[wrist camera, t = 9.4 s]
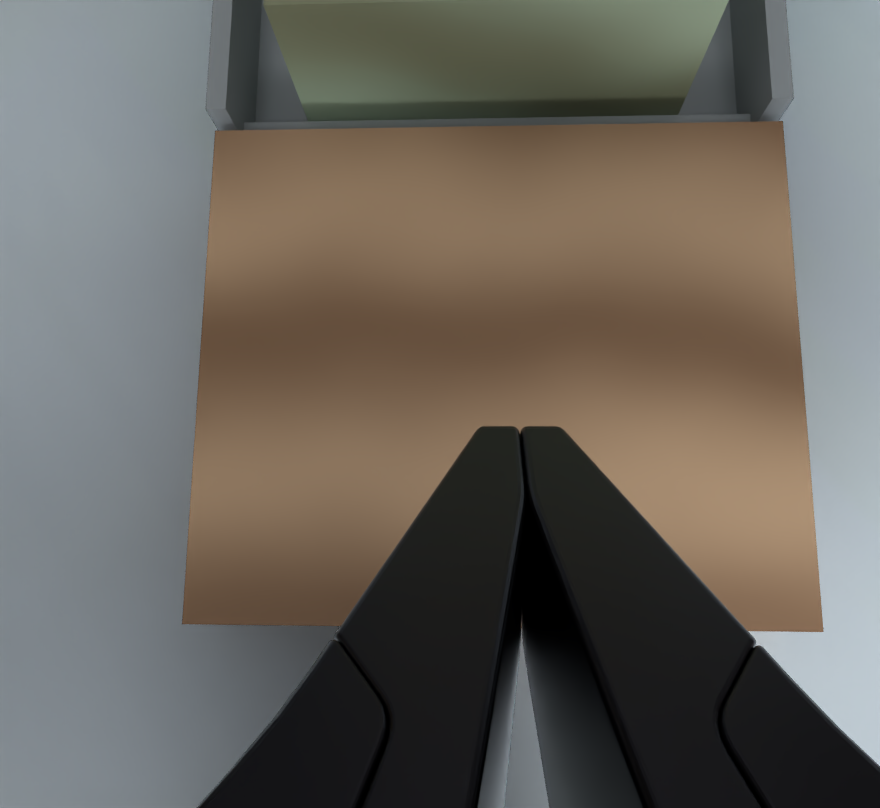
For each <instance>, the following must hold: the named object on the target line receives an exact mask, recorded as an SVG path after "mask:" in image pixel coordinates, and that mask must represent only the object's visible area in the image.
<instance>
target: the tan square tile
mask: <svg viewBox="0 0 880 808" xmlns="http://www.w3.org/2000/svg"><path fill="white" fill-rule="evenodd" d="M481 426H514V427H516V428H517V429H518V430H519V432H520V431H521V430H522V428H524V427H526V426H559V427H561V428H562V429H564V430H565V431H566V432H567V434H568V435H569V436H570V437H571V438H572V439H573V440H574V441H575V442H576V443H577V445H578V446H579V447H580V448H581V449H582V450H583V451H584V452H585V453H586V454H587V455H588V457H589V458H590V459H591V460H592V461H593V462H594V463H595V464H596V465H597V466H598V468H599V469H600V470H601V471H602V472H603V473H604V474H605V475H606V476H607V477H608V478H609V480H610V481H611V482H612V483H613V484H614V485H615V486H616V487H617V488H618V489H619V491H620V492H621V493H622V494H623V495H624V496H625V497H626V498H627V499H628V500H629V502H630V503H631V504H632V505H633V506H634V507H635V508H636V509H637V510H638V511H639V512H640V514H641V515H642V516H643V517H644V518H645V519H646V520H647V521H648V522H649V523H650V525H651V526H652V527H653V528H654V529H655V530H656V531H657V532H658V533H659V534H660V535H661V537H662V538H663V539H664V540H665V541H666V542H667V543H668V544H669V545H670V546H671V548H672V549H673V550H674V551H675V552H676V553H677V554H678V555H679V556H680V557H681V559H682V560H683V561H684V562H685V563H686V564H687V565H688V566H689V567H690V568H691V569H692V571H693V572H694V573H695V574H696V575H697V576H698V577H699V578H700V579H701V580H702V582H703V583H704V584H705V585H706V586H707V587H708V588H709V589H710V590H711V591H712V592H713V594H714V595H715V596H716V597H717V598H718V599H719V600H720V601H721V602H722V603H723V605H724V606H725V607H726V608H727V609H728V610H729V611H730V612H731V613H732V614H733V616H734V617H735V618H736V619H737V620H738V621H739V622H740V623H741V624H742V625H743V626H744V628H745V629H746V630H747V631H790V632H823V622H822V609H821V596H820V584H819V571H818V559H817V546H816V533H815V521H814V508H813V496H812V483H811V470H810V458H809V445H808V433H807V420H806V408H805V395H804V382H803V370H802V357H801V345H800V332H799V319H798V307H797V294H796V282H795V269H794V256H793V244H792V231H791V219H790V206H789V194H788V181H787V168H786V156H785V143H784V131H783V121H761V122H702V123H643V124H584V125H525V126H466V127H406V128H347V129H288V130H229V131H215V141H214V156H213V171H212V186H211V201H210V216H209V231H208V246H207V261H206V276H205V291H204V305H203V320H202V335H201V350H200V365H199V380H198V395H197V410H196V425H195V440H194V455H193V470H192V485H191V499H190V514H189V529H188V544H187V559H186V574H185V589H184V604H183V619H182V624H216V625H298V626H341V625H342V623H343V622H344V621H345V619H346V618H347V616H348V615H349V613H350V612H351V610H352V609H353V608H354V606H355V605H356V603H357V602H358V600H359V599H360V597H361V596H362V595H363V593H364V592H365V590H366V589H367V587H368V586H369V584H370V583H371V582H372V580H373V579H374V577H375V576H376V574H377V573H378V571H379V570H380V569H381V567H382V566H383V564H384V563H385V561H386V560H387V558H388V557H389V556H390V554H391V553H392V551H393V550H394V548H395V547H396V545H397V544H398V543H399V541H400V540H401V538H402V537H403V535H404V534H405V532H406V531H407V530H408V528H409V527H410V525H411V524H412V522H413V521H414V519H415V518H416V517H417V515H418V514H419V512H420V511H421V509H422V508H423V507H424V505H425V504H426V502H427V501H428V499H429V498H430V496H431V495H432V494H433V492H434V491H435V489H436V488H437V486H438V485H439V483H440V482H441V481H442V479H443V478H444V476H445V475H446V473H447V472H448V470H449V469H450V468H451V466H452V465H453V463H454V462H455V460H456V459H457V457H458V456H459V455H460V453H461V452H462V450H463V449H464V447H465V446H466V444H467V443H468V442H469V440H470V439H471V437H472V436H473V434H474V433H475V432H476V430H477V429H478V428H480V427H481ZM521 628H522V623H521Z"/></svg>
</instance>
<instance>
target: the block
mask: <svg viewBox="0 0 880 808" xmlns="http://www.w3.org/2000/svg"><path fill="white" fill-rule="evenodd" d="M728 1H729V0H264V4H263V5H264V8H265V11H266V13H267V16H268V18H269V21H270V24H271V26H272V29H273V31H274V34H275V37H276V39H277V42H278V44H279V47H280V50H281V52H282V55H283V57H284V60H285V63H286V65H287V68H288V70H289V73H290V76H291V78H292V81H293V83H294V86H295V88H296V91H297V94H298V96H299V99H300V101H301V104H302V107H303V109H304V112H305V114H306V117H307V120H308V121H358V120H416V119H473V118H531V117H588V116H646V115H678V114H679V112H680V109H681V107H682V105H683V103H684V100H685V98H686V96H687V94H688V91H689V89H690V87H691V85H692V82H693V80H694V78H695V76H696V73H697V71H698V69H699V67H700V64H701V62H702V60H703V58H704V55H705V53H706V51H707V49H708V46H709V44H710V42H711V40H712V37H713V35H714V33H715V30H716V28H717V26H718V24H719V21H720V19H721V17H722V15H723V12H724V10H725V8H726V6H727V3H728Z"/></svg>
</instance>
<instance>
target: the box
mask: <svg viewBox="0 0 880 808" xmlns="http://www.w3.org/2000/svg"><path fill="white" fill-rule="evenodd" d="M263 4H264V0H213V9H212V23H211V38H210V52H209V66H208V81H207V95H206V111H207V112H208V114H209V116H210V117H211V119H212V121H213V122H214V124H215V126H216V127H217V129H218V131H229V130H288V129H347V128H406V127H466V126H525V125H584V124H643V123H702V122H761V121H779V119H780V118H781V117H782V115H783V114H784V112H785V111H786V109H787V108H788V106H789V105H790V103H791V102H792V100H793V99H794V95H793V83H792V71H791V58H790V46H789V34H788V22H787V10H786V0H729V1H728V3H727V6H726V8H725V10H724V12H723V15H722V17H721V19H720V21H719V24H718V26H717V28H716V30H715V33H714V35H713V37H712V40H711V42H710V44H709V46H708V49H707V51H706V53H705V55H704V58H703V60H702V62H701V64H700V67H699V69H698V71H697V73H696V76H695V78H694V80H693V82H692V85H691V87H690V89H689V91H688V94H687V96H686V98H685V100H684V103H683V105H682V107H681V109H680V112H679V114H678V115H646V116H588V117H531V118H473V119H416V120H358V121H308V120H307V117H306V114H305V112H304V109H303V107H302V104H301V101H300V99H299V96H298V94H297V91H296V88H295V86H294V83H293V81H292V78H291V76H290V73H289V70H288V68H287V65H286V63H285V60H284V57H283V55H282V52H281V50H280V47H279V44H278V42H277V39H276V37H275V34H274V31H273V29H272V26H271V24H270V21H269V18H268V16H267V13H266V11H265V8H264V5H263Z"/></svg>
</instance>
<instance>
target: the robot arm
mask: <svg viewBox="0 0 880 808" xmlns="http://www.w3.org/2000/svg"><path fill="white" fill-rule="evenodd" d="M521 623H522V638H523V646H524V654H525V661H526V668H527V674H528V680H529V686H530V692H531V698H532V704H533V710H534V717H535V723H536V729H537V735H538V741H539V747H540V753H541V759H542V765H543V772H544V778H545V784H546V790H547V796H548V802H549V808H880V766H879V765H878V764H877V763H876V762H875V761H874V760H873V759H872V758H871V757H869V756H868V755H867V754H866V753H865V752H864V751H863V750H862V749H861V748H860V747H859V746H858V745H857V744H856V743H855V742H854V741H853V740H851V739H850V738H849V737H848V736H847V735H846V734H845V733H844V732H843V731H842V730H841V729H840V728H839V727H838V726H837V725H836V724H835V723H834V722H833V721H832V720H831V719H830V718H829V717H828V716H827V715H826V714H825V713H824V712H823V711H822V710H821V709H820V708H819V707H818V705H817V704H816V703H815V702H814V701H813V700H812V699H811V698H810V697H809V696H808V695H807V694H806V693H805V692H804V691H803V690H802V689H801V688H800V687H799V686H798V685H797V684H796V683H795V682H794V681H793V680H792V678H791V677H790V676H789V675H788V674H787V673H786V672H785V671H784V670H783V669H782V668H781V666H780V665H779V664H778V663H777V662H776V661H775V660H774V659H773V658H772V657H771V656H770V654H769V653H768V652H767V651H766V650H765V649H764V648H763V647H762V646H756V641H755V639H754V637H753V636H752V635H751V634H750V633H749V632H748V631H747V630H746V629H745V628H744V626H743V625H742V624H741V623H740V622H739V621H738V620H737V619H736V618H735V617H734V616H733V614H732V613H731V612H730V611H729V610H728V609H727V608H726V607H725V606H724V605H723V603H722V602H721V601H720V600H719V599H718V598H717V597H716V596H715V595H714V594H713V592H712V591H711V590H710V589H709V588H708V587H707V586H706V585H705V584H704V583H703V582H702V580H701V579H700V578H699V577H698V576H697V575H696V574H695V573H694V572H693V571H692V569H691V568H690V567H689V566H688V565H687V564H686V563H685V562H684V561H683V560H682V559H681V557H680V556H679V555H678V554H677V553H676V552H675V551H674V550H673V549H672V548H671V546H670V545H669V544H668V543H667V542H666V541H665V540H664V539H663V538H662V537H661V535H660V534H659V533H658V532H657V531H656V530H655V529H654V528H653V527H652V526H651V525H650V523H649V522H648V521H647V520H646V519H645V518H644V517H643V516H642V515H641V514H640V512H639V511H638V510H637V509H636V508H635V507H634V506H633V505H632V504H631V503H630V502H629V500H628V499H627V498H626V497H625V496H624V495H623V494H622V493H621V492H620V491H619V489H618V488H617V487H616V486H615V485H614V484H613V483H612V482H611V481H610V480H609V478H608V477H607V476H606V475H605V474H604V473H603V472H602V471H601V470H600V469H599V468H598V466H597V465H596V464H595V463H594V462H593V461H592V460H591V459H590V458H589V457H588V455H587V454H586V453H585V452H584V451H583V450H582V449H581V448H580V447H579V446H578V445H577V443H576V442H575V441H574V440H573V439H572V438H571V437H570V436H569V435H568V434H567V432H566V431H565V430H564V429H562V428H561V427H559V426H526V427H524V428H522V430H521V431H520V432H519V430H518V429H517V428H516V427H514V426H481V427H480V428H478V429H477V430H476V432H475V433H474V434H473V436H472V437H471V439H470V440H469V442H468V443H467V444H466V446H465V447H464V449H463V450H462V452H461V453H460V455H459V456H458V457H457V459H456V460H455V462H454V463H453V465H452V466H451V468H450V469H449V470H448V472H447V473H446V475H445V476H444V478H443V479H442V481H441V482H440V483H439V485H438V486H437V488H436V489H435V491H434V492H433V494H432V495H431V496H430V498H429V499H428V501H427V502H426V504H425V505H424V507H423V508H422V509H421V511H420V512H419V514H418V515H417V517H416V518H415V519H414V521H413V522H412V524H411V525H410V527H409V528H408V530H407V531H406V532H405V534H404V535H403V537H402V538H401V540H400V541H399V543H398V544H397V545H396V547H395V548H394V550H393V551H392V553H391V554H390V556H389V557H388V558H387V560H386V561H385V563H384V564H383V566H382V567H381V569H380V570H379V571H378V573H377V574H376V576H375V577H374V579H373V580H372V582H371V583H370V584H369V586H368V587H367V589H366V590H365V592H364V593H363V595H362V596H361V597H360V599H359V600H358V602H357V603H356V605H355V606H354V608H353V609H352V610H351V612H350V613H349V615H348V616H347V618H346V619H345V621H344V622H343V623H342V625H341V626H340V628H339V629H338V631H337V632H336V634H335V637H334V639H335V640H331V641H330V642H329V643H328V644H327V646H326V647H325V649H324V650H323V652H322V653H321V654H320V656H319V657H318V659H317V660H316V662H315V663H314V665H313V666H312V668H311V669H310V670H309V672H308V673H307V675H306V676H305V677H304V679H303V680H302V681H301V683H300V684H299V685H298V687H297V688H296V689H295V691H294V692H293V693H292V695H291V696H290V697H289V699H288V700H287V701H286V703H285V704H284V705H283V707H282V708H281V710H280V711H279V712H278V714H277V715H276V716H275V718H274V719H273V720H272V721H271V722H270V724H269V725H268V726H267V727H266V728H265V730H264V731H263V732H262V733H261V734H260V735H259V737H258V738H257V739H256V740H255V741H254V742H253V744H252V745H251V746H250V747H249V748H248V750H247V751H246V752H245V753H244V754H243V755H242V757H241V758H240V759H239V760H238V761H237V763H236V764H235V765H234V766H233V767H232V768H231V770H230V771H229V772H228V773H227V774H226V775H225V776H224V778H223V779H222V780H221V781H220V782H219V783H218V784H217V785H216V787H215V788H214V789H213V790H212V791H211V792H210V793H209V794H208V795H207V797H206V798H205V799H204V800H203V801H202V802H201V803H200V804H199V806H198V807H197V808H504V805H505V795H506V785H507V775H508V766H509V756H510V746H511V736H512V726H513V716H514V706H515V696H516V686H517V677H518V667H519V654H520V640H521Z"/></svg>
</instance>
